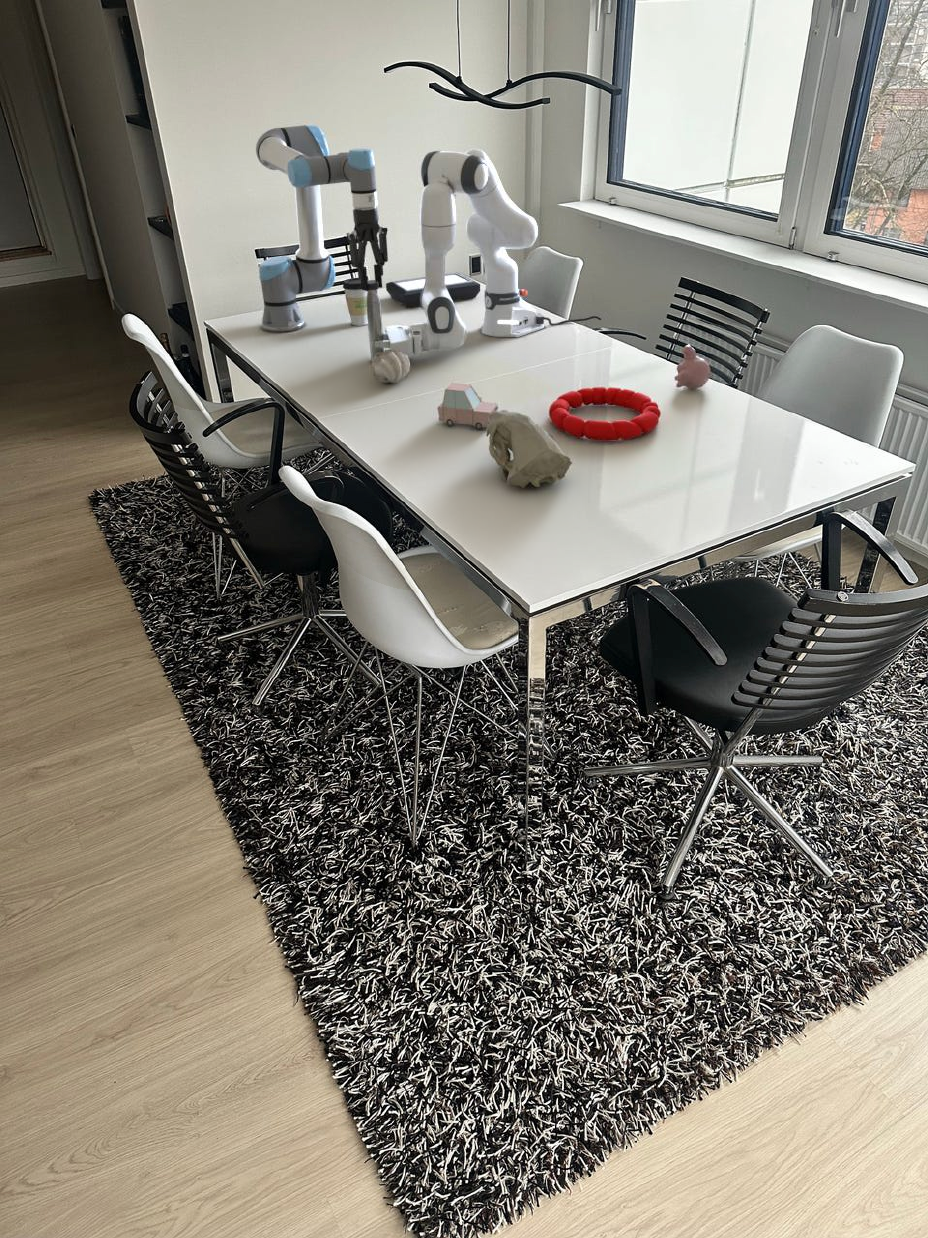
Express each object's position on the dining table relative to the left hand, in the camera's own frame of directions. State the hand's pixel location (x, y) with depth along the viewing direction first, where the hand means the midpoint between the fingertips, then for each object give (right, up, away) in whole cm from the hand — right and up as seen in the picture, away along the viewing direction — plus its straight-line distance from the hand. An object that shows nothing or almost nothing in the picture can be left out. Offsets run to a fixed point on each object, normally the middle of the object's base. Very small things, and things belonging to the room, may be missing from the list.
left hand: (371, 288), depth 278 cm
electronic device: (+17, +23, +74) cm, 79 cm away
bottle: (+1, -19, +13) cm, 23 cm away
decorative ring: (+67, -50, -35) cm, 90 cm away
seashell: (+7, -31, -4) cm, 32 cm away
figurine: (+96, -36, -16) cm, 103 cm away
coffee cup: (-9, +5, +49) cm, 50 cm away
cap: (0, +1, -1) cm, 2 cm away
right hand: (0, -14, +9) cm, 17 cm away
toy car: (+30, -50, -33) cm, 66 cm away
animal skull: (+43, -67, -58) cm, 98 cm away
